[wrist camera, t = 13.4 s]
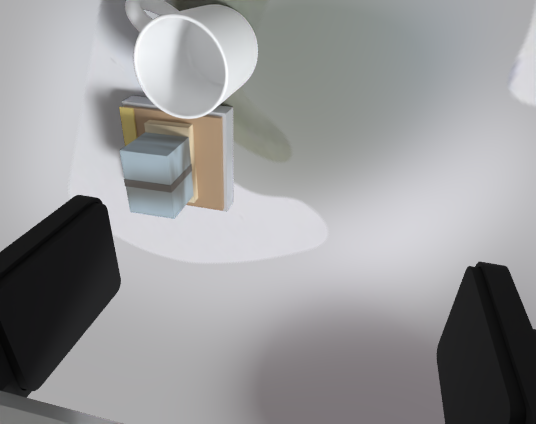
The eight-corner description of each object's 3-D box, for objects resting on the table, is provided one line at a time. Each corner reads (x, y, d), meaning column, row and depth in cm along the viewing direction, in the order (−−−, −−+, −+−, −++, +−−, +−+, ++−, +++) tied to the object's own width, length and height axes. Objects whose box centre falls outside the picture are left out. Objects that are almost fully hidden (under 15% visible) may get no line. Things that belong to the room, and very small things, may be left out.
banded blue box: (149, 119, 45) (117, 140, 40) (193, 124, 44) (166, 146, 39) (158, 192, 50) (131, 220, 44) (198, 198, 49) (175, 227, 43)
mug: (141, 26, 43) (80, 41, 35) (181, -47, 39) (123, -49, 30) (228, 105, 45) (192, 138, 37) (276, 45, 41) (248, 66, 32)
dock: (132, 95, 47) (117, 103, 45) (233, 106, 45) (223, 115, 43) (144, 187, 54) (132, 199, 51) (233, 202, 51) (225, 215, 49)
